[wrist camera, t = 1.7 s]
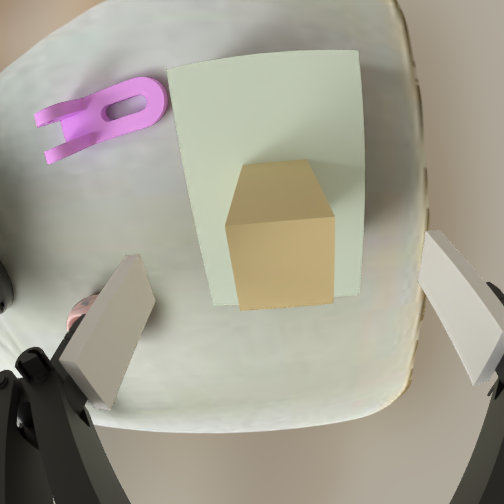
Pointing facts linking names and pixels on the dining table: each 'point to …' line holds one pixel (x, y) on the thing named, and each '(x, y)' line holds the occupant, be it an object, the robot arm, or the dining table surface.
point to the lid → (275, 174)
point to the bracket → (102, 115)
